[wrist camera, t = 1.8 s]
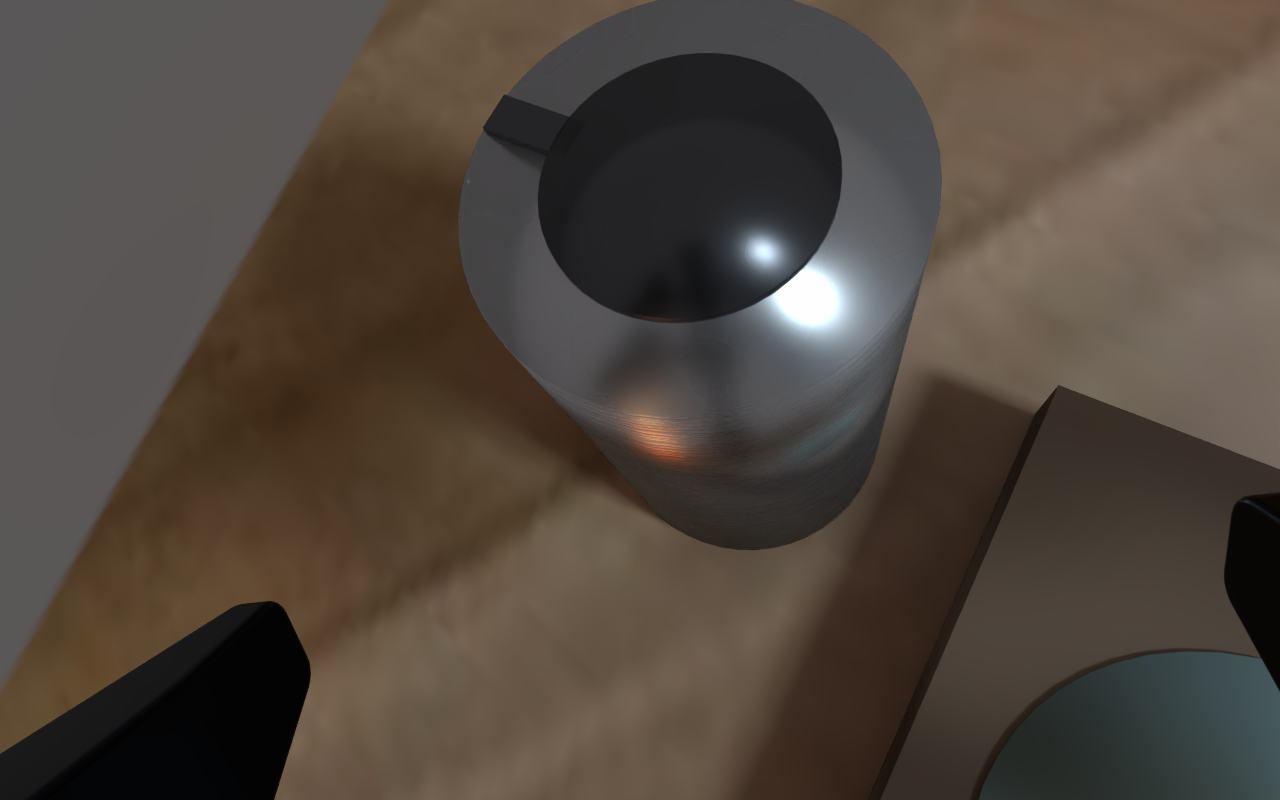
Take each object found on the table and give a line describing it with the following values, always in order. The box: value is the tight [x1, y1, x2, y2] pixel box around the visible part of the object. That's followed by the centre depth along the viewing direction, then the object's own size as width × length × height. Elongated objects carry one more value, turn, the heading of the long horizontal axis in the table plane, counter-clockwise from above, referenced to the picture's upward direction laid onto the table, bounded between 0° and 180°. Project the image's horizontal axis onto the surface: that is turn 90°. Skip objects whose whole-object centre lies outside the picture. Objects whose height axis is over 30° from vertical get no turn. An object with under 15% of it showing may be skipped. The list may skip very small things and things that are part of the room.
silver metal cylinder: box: [458, 0, 942, 550], centre depth 16 cm, size 6×6×11 cm
